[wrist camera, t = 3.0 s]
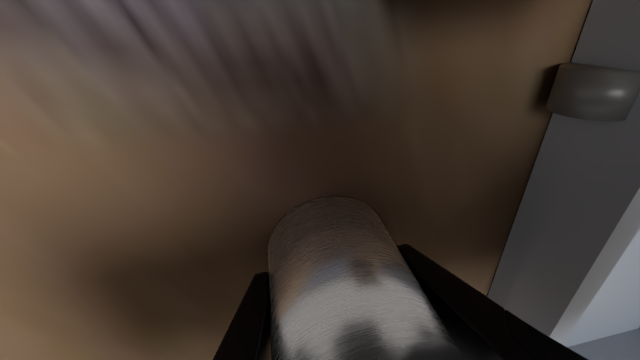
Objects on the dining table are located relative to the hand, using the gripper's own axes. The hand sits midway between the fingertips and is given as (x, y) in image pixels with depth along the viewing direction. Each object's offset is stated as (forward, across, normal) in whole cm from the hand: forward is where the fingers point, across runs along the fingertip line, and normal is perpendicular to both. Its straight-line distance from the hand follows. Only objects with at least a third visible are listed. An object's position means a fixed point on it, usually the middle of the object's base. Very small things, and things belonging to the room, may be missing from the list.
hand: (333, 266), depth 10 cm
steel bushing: (+1, 0, 0) cm, 1 cm away
